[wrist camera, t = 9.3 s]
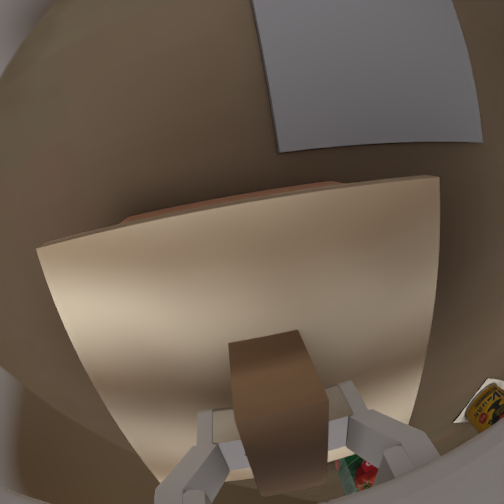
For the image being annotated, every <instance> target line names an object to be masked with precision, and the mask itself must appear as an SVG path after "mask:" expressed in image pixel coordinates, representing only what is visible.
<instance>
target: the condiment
mask: <svg viewBox="0 0 504 504" xmlns="http://www.w3.org/2000/svg"><path fill="white" fill-rule="evenodd" d="M503 389H504V381H502V380H496V379H490V378H488V379H487V380H486V381H485V383H484V384H483V385H482V386H481V388H480V389H479V390H478V391H477V393H476V394H475V395H474V397H473V398H472V399H471V400H470V402H469V403H468V404H467V406H466V407H465V408H464V410H463V411H462V412H461V414H460V415H459V417H458V418H457V419H456V420H455V421H454V422H453V423H457V422H470V423H471V424H472V426H473V427H474V428H475V429H476V431H477V432H478V433H479V434H480V433H481V432H483V431H485V430H486V429H488V428H489V427H490V426H492V425H493V424H495V423H496V422H498V421H499V420H500V419H502V418H503V417H504V391H503Z"/></svg>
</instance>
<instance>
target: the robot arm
mask: <svg viewBox="0 0 504 504" xmlns="http://www.w3.org/2000/svg"><path fill="white" fill-rule="evenodd" d="M324 390H325V392H326V394H327V397H328V399H329V435H328V451H330V450H334V449H338V448H342V447H345V446H346V447H347V448H348V449H349V450H351V451H352V452H354V453H355V454H357V455H358V456H360V457H361V458H363V459H364V460H366V461H367V462H369V463H370V464H372V465H373V466H375V467H376V468H378V472H377V475H376V478H375V481H374V483H373V487H371V488H368V489H365V490H362V491H359V492H356V493H353V494H350V495H347V496H344V497H340V498H337V499H333V500H330V501H326V502H322V503H318V504H504V417H503V418H502V419H500V420H499V421H498V422H496V423H495V424H493V425H492V426H490V427H489V428H488V429H486V430H485V431H483V432H481V433H480V434H478V435H477V436H475V437H474V438H472V439H470V440H469V441H467V442H466V443H464V444H462V445H460V446H459V447H457V448H455V449H454V450H452V451H450V452H448V453H446V454H444V455H443V456H441V457H440V455H439V453H438V452H437V450H436V449H435V447H434V446H433V444H432V443H431V441H430V440H429V438H428V437H427V435H426V434H425V432H423V431H421V430H418V429H416V428H414V427H411V426H409V425H407V424H404V423H402V422H400V421H398V420H395V419H393V418H391V417H389V416H386V415H384V414H382V413H380V412H378V411H376V410H374V409H370V410H368V408H367V407H366V405H365V403H364V401H363V400H362V398H361V396H360V394H359V392H358V391H357V389H356V387H355V385H354V384H353V382H352V381H351V380H349V381H346V382H342V383H339V384H335V385H332V386H328V387H324ZM244 468H250V465H249V462H248V459H247V456H246V453H245V450H244V447H243V444H242V441H241V438H240V435H239V432H238V429H237V426H236V423H235V420H234V410H233V407H225V408H217V409H209V410H199V411H198V414H197V444H196V446H192V447H191V448H190V450H189V451H188V452H187V453H186V454H185V456H184V457H183V458H182V459H181V460H180V462H179V463H178V464H177V465H176V466H175V467H174V469H173V470H172V471H171V472H170V473H169V474H168V476H167V477H166V478H165V479H164V480H163V481H162V482H161V484H160V485H159V486H158V487H157V488H156V490H155V498H154V504H213V503H212V501H213V500H214V498H215V496H216V495H217V493H218V491H219V490H220V488H221V486H222V485H223V483H224V481H225V480H226V478H227V476H228V474H229V473H230V471H231V470H238V469H244ZM0 504H51V503H47V502H44V501H40V500H37V499H34V498H31V497H28V496H25V495H21V494H19V493H16V492H13V491H10V490H8V489H5V488H3V487H0Z"/></svg>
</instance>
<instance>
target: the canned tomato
mask: <svg viewBox="0 0 504 504" xmlns="http://www.w3.org/2000/svg"><path fill="white" fill-rule="evenodd" d="M333 462H334V465H335V467H336V470H337V472H338V475H339V478H340V481H341V484H342V485H343V489H344V491H345V494H346V496H347V495H350V494H353V493H356V492H359V491H362V490H365V489H368V488H371V487H373V483H374V481H375V478H376V475H377V472H378V468H376V467H375V466H373V465H372V464H370V463H369V462H367V461H366V460H364V459H363V458H361V457H360V456H358V455H357V454H353V455H350V456H347V457H344V458H340V459H337V460H333Z"/></svg>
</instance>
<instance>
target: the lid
mask: <svg viewBox="0 0 504 504" xmlns="http://www.w3.org/2000/svg"><path fill="white" fill-rule="evenodd" d="M439 242H440V182H439V177H436V176H430V175H419V176H409V177H399V178H389V179H380V180H372V181H363V182H355V183H347V184H339V185H332V186H324V187H317V188H310V189H303V190H297V191H290V192H283V193H277V194H271V195H265V196H259V197H253V198H247V199H241V200H235V201H230V202H224V203H219V204H213V205H208V206H203V207H198V208H192V209H187V210H182V211H177V212H172V213H168V214H163V215H158V216H153V217H149V218H144V219H139V220H135V221H130V222H126V223H122V224H117V225H113V226H109V227H104V228H100V229H96V230H92V231H88V232H84V233H80V234H76V235H72V236H68V237H64V238H60V239H57V240H53V241H49V242H46V243H45V244H43V245H41V246H40V247H38V248H36V250H37V254H38V257H39V260H40V263H41V266H42V269H43V272H44V275H45V278H46V281H47V284H48V286H49V289H50V292H51V294H52V297H53V300H54V302H55V305H56V307H57V310H58V312H59V315H60V317H61V319H62V322H63V324H64V326H65V329H66V331H67V333H68V335H69V337H70V340H71V342H72V344H73V346H74V348H75V350H76V352H77V354H78V356H79V358H80V360H81V362H82V364H83V366H84V368H85V370H86V372H87V374H88V376H89V377H90V379H91V381H92V383H93V385H94V387H95V388H96V390H97V392H98V394H99V395H100V397H101V399H102V400H103V402H104V404H105V405H106V407H107V409H108V410H109V412H110V414H111V415H112V417H113V418H114V420H115V421H116V423H117V424H118V426H119V428H120V429H121V431H122V432H123V433H124V435H125V436H126V438H127V439H128V441H129V442H130V444H131V445H132V446H133V448H134V449H135V451H136V452H137V453H138V455H139V456H140V457H141V459H142V460H143V461H144V463H145V464H146V465H147V467H148V468H149V469H150V471H151V472H152V473H153V474H154V475H155V477H156V478H157V479H158V480H159V482H160V483H161V482H162V481H163V480H164V479H165V478H166V477H167V476H168V474H169V473H170V472H171V471H172V470H173V469H174V467H175V466H176V465H177V464H178V463H179V462H180V460H181V459H182V458H183V457H184V456H185V454H186V453H187V452H188V451H189V450H190V448H191V447H192V446H196V444H197V414H198V411H199V410H209V409H217V408H225V407H233V410H234V420H235V423H236V426H237V429H238V432H239V435H240V438H241V441H242V444H243V447H244V450H245V453H246V456H247V459H248V462H249V465H250V468H244V469H238V470H231V471H230V473H229V474H228V476H227V478H226V480H225V481H233V480H241V479H249V478H255V481H256V484H257V487H258V489H259V492H260V495H261V497H264V496H270V495H276V494H281V493H286V492H291V491H296V490H301V489H305V488H309V487H313V486H317V485H321V484H325V483H326V481H327V463H328V462H330V461H333V460H337V459H340V458H344V457H347V456H350V455H353V454H355V453H354V452H352V451H351V450H349V449H348V448H347V447H346V446H345V447H342V448H338V449H334V450H330V451H328V435H329V399H328V397H327V394H326V392H325V390H324V387H328V386H332V385H335V384H339V383H342V382H346V381H349V380H351V381H352V382H353V384H354V385H355V387H356V389H357V391H358V392H359V394H360V396H361V398H362V400H363V401H364V403H365V405H366V407H367V408H368V410H370V409H374V410H376V411H378V412H380V413H382V414H384V415H386V416H389V417H391V418H393V419H395V420H398V421H400V422H402V423H404V424H407V425H408V424H409V420H410V417H411V414H412V410H413V407H414V403H415V399H416V396H417V392H418V388H419V384H420V380H421V376H422V371H423V367H424V362H425V357H426V352H427V347H428V342H429V336H430V330H431V324H432V317H433V310H434V303H435V294H436V285H437V274H438V261H439Z"/></svg>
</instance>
